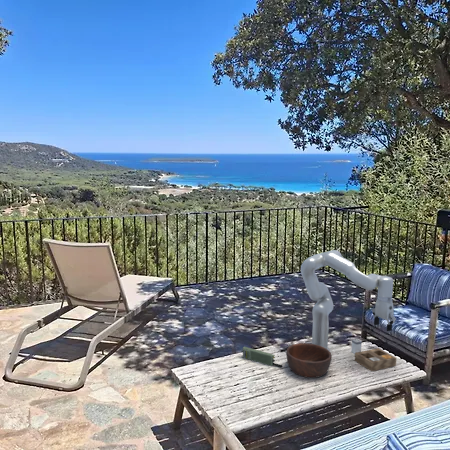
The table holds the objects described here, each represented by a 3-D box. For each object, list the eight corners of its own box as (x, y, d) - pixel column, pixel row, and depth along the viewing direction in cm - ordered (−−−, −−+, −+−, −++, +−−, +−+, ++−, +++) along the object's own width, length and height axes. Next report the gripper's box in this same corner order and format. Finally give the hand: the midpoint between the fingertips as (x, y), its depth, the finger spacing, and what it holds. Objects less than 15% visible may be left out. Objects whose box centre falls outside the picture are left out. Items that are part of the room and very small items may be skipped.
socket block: (371, 371, 228) (372, 362, 227) (354, 360, 241) (355, 352, 240) (395, 366, 235) (396, 357, 234) (378, 355, 248) (378, 347, 247)
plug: (355, 355, 248) (356, 342, 247) (351, 352, 252) (351, 339, 251) (361, 354, 250) (361, 341, 249) (356, 351, 254) (357, 339, 253)
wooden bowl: (319, 385, 212) (320, 367, 211) (277, 371, 227) (278, 353, 226) (337, 367, 232) (338, 350, 230) (298, 355, 247) (298, 339, 245)
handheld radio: (244, 356, 245) (283, 367, 232) (242, 358, 242) (280, 369, 229) (244, 345, 244) (283, 356, 231) (242, 348, 241) (280, 358, 228)
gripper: (401, 302, 223) (399, 332, 225) (378, 293, 238) (376, 321, 241) (391, 303, 220) (389, 334, 222) (368, 294, 236) (366, 323, 238)
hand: (382, 327), depth 231 cm, fingers open, 9 cm apart
